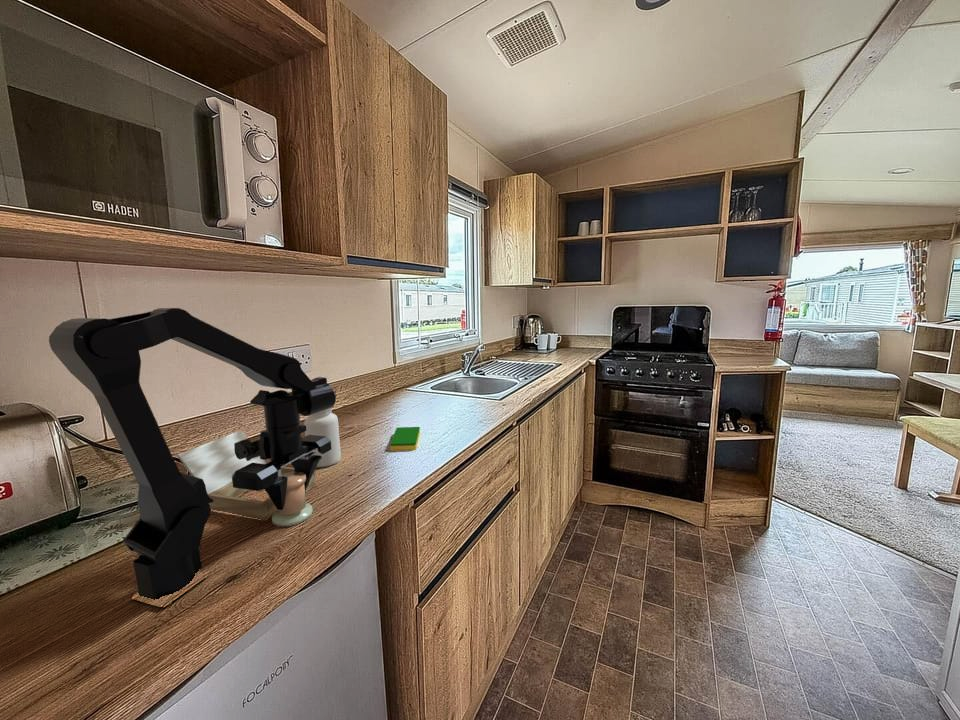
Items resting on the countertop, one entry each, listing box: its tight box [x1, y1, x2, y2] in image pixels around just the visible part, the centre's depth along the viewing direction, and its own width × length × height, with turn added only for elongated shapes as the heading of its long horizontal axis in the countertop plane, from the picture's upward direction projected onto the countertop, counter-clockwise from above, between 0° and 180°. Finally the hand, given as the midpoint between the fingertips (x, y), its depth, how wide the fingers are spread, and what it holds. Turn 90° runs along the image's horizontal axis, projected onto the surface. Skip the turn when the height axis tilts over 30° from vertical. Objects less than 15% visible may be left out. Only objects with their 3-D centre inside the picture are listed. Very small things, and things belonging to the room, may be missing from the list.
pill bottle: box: [303, 407, 342, 468], centre depth 97 cm, size 8×8×15 cm
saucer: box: [271, 502, 314, 527], centre depth 73 cm, size 7×7×1 cm
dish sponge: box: [389, 426, 421, 452], centre depth 111 cm, size 7×14×2 cm, turn 4°
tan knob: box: [277, 472, 307, 515], centre depth 73 cm, size 6×6×6 cm
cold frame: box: [176, 429, 317, 521], centre depth 80 cm, size 14×20×11 cm
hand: (291, 501), depth 73 cm, fingers closed on tan knob, 5 cm apart
